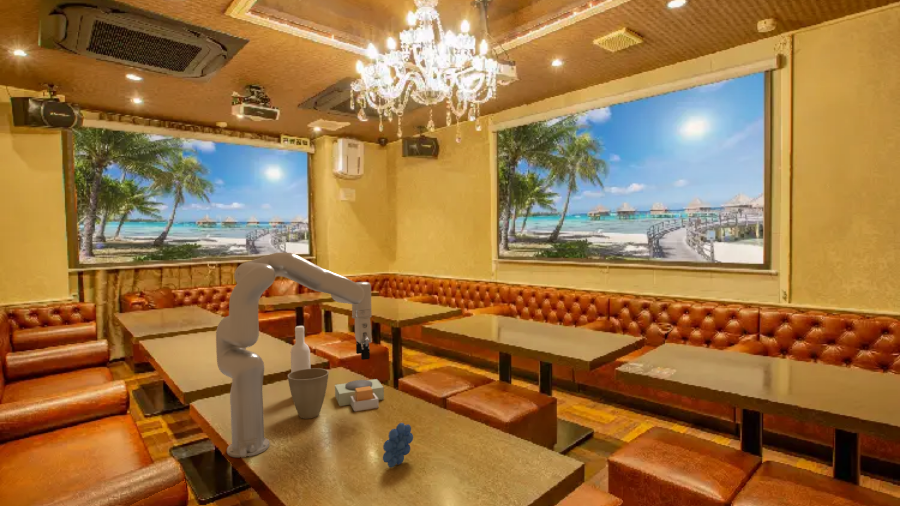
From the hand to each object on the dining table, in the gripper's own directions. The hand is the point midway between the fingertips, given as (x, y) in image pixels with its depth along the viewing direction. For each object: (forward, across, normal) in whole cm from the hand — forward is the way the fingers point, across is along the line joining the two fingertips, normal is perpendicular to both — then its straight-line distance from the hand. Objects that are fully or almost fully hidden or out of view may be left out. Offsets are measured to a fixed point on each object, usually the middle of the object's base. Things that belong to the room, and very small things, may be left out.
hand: (362, 356), depth 183 cm
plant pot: (+20, 0, +21) cm, 29 cm away
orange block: (+20, 0, 0) cm, 20 cm away
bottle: (+20, +22, +22) cm, 37 cm away
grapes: (+20, -50, +1) cm, 54 cm away
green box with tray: (+20, +6, 0) cm, 21 cm away
